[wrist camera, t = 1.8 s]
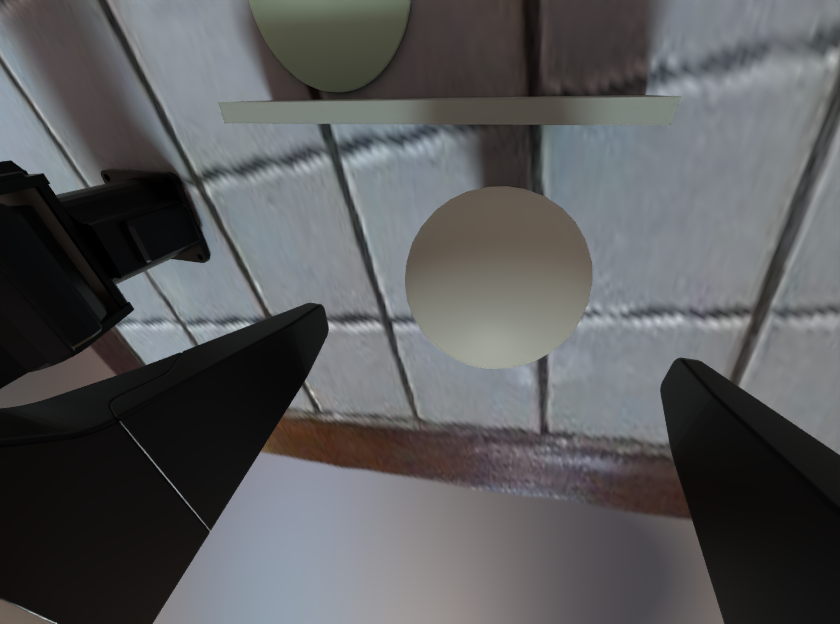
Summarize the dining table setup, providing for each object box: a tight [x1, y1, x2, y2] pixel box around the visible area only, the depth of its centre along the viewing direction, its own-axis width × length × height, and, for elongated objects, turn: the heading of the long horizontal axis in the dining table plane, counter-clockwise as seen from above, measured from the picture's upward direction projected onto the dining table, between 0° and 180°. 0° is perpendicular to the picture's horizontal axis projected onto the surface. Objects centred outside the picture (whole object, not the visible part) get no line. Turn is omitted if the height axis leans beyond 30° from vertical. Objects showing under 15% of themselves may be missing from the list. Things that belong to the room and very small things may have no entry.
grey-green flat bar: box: [219, 95, 681, 125], centre depth 14 cm, size 18×1×4 cm, turn 91°
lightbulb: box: [405, 186, 592, 369], centre depth 13 cm, size 6×6×11 cm
